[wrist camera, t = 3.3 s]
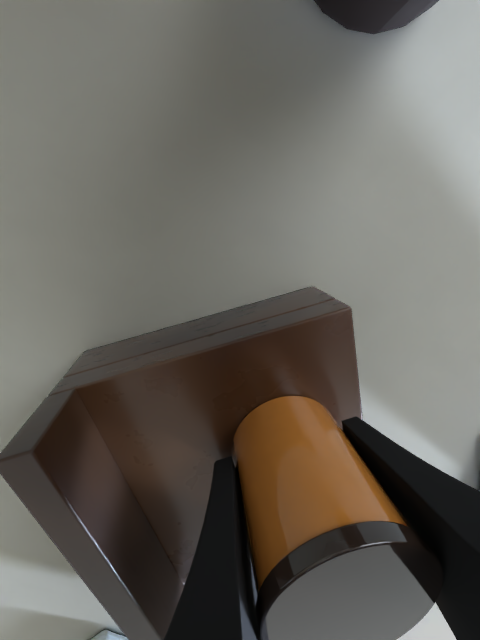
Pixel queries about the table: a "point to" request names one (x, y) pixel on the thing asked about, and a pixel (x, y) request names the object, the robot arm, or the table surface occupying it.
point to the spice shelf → (167, 440)
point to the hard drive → (109, 636)
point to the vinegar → (374, 13)
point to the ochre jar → (325, 532)
